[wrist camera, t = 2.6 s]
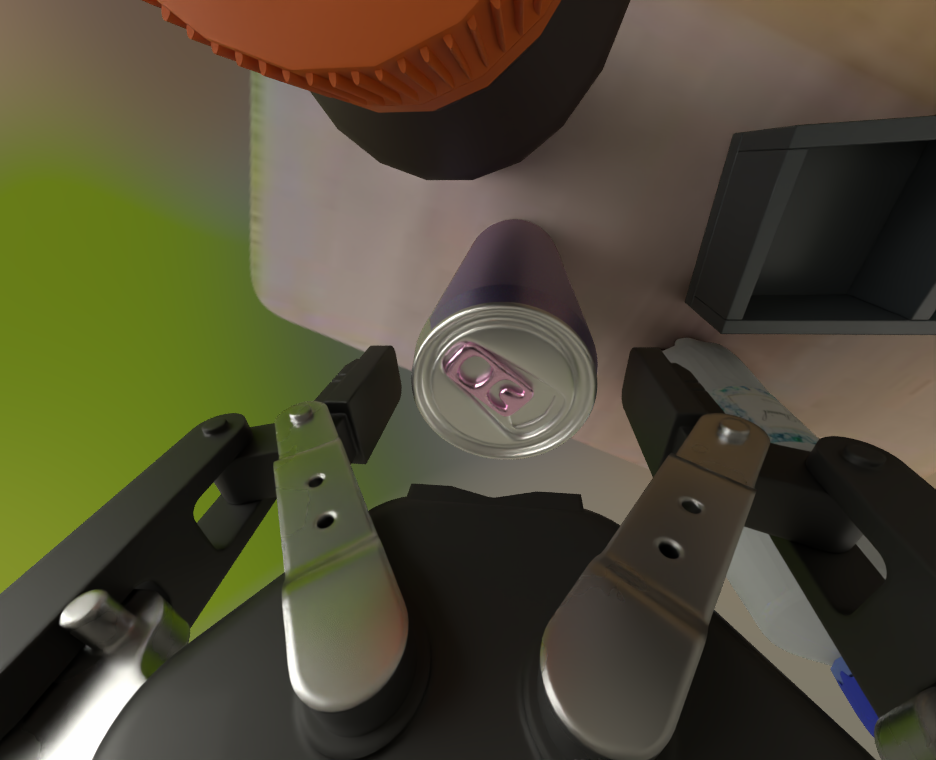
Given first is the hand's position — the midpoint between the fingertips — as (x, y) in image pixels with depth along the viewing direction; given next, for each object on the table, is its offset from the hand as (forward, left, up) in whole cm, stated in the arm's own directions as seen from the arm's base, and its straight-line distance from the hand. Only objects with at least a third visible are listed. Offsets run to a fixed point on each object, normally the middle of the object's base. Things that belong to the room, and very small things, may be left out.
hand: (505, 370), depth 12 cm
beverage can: (0, 0, -13) cm, 13 cm away
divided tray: (-2, +20, -13) cm, 24 cm away
